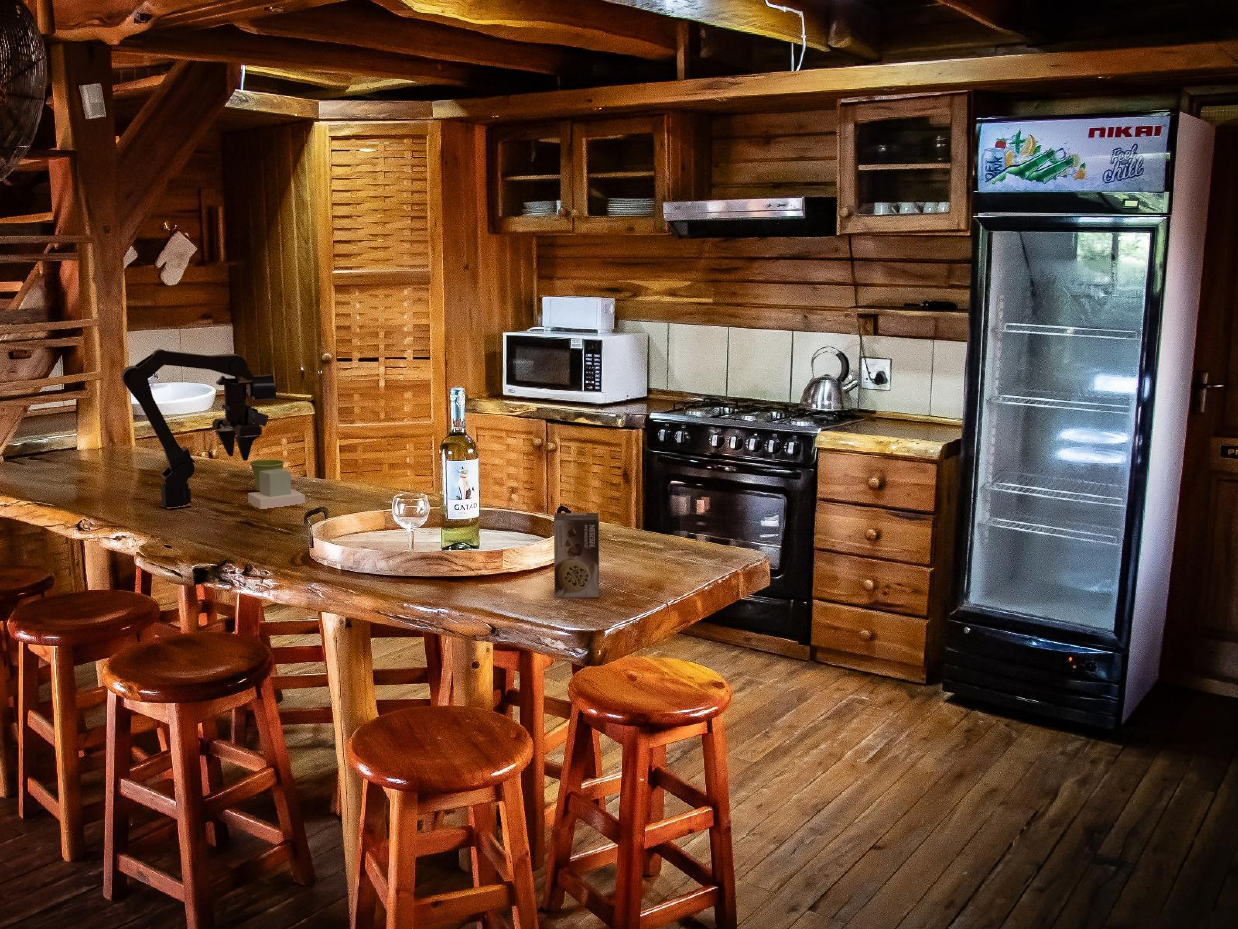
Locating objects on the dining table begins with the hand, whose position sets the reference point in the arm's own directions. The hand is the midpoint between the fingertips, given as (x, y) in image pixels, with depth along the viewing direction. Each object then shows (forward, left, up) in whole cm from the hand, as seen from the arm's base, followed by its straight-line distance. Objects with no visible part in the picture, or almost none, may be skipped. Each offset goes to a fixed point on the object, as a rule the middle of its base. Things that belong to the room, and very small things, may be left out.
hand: (238, 458), depth 322 cm
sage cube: (+5, -11, -8) cm, 15 cm away
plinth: (+5, -12, -12) cm, 18 cm away
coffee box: (+14, -127, -12) cm, 128 cm away
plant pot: (+12, +8, -12) cm, 19 cm away
